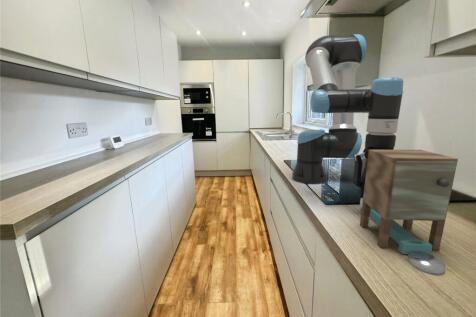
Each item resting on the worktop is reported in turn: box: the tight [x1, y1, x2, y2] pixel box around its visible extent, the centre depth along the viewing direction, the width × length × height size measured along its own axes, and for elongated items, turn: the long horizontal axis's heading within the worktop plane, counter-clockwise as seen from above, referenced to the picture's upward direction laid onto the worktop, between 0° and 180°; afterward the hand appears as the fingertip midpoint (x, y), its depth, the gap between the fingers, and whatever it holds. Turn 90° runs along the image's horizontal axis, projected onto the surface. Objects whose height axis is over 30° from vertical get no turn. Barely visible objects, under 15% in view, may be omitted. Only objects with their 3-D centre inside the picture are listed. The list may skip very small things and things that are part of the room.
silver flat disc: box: [407, 251, 446, 276], centre depth 47 cm, size 6×6×2 cm
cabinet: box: [359, 149, 459, 252], centre depth 54 cm, size 13×13×22 cm
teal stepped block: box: [359, 206, 433, 255], centre depth 60 cm, size 23×6×10 cm, turn 175°
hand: (371, 207), depth 70 cm, fingers closed on teal stepped block, 4 cm apart
